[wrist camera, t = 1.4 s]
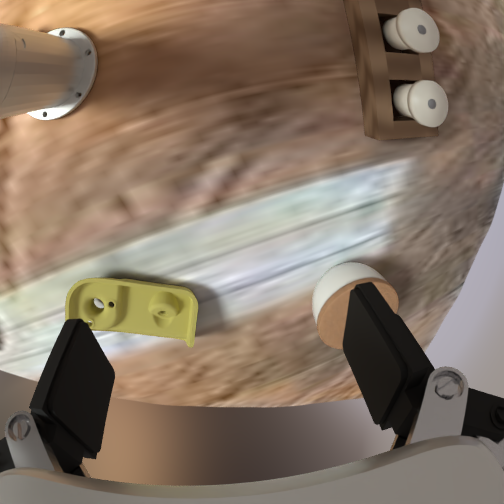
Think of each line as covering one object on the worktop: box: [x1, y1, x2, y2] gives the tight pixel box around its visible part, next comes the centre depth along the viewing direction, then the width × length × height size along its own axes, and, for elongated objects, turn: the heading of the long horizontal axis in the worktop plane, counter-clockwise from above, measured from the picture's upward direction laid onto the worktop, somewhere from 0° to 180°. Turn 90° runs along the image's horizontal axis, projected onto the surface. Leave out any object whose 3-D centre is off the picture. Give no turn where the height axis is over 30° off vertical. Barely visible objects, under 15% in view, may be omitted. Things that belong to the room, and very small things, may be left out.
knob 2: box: [393, 80, 448, 127], centre depth 28 cm, size 6×6×5 cm
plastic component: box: [65, 278, 198, 348], centre depth 43 cm, size 20×7×10 cm
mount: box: [343, 0, 438, 140], centre depth 27 cm, size 28×10×4 cm, turn 10°
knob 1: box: [383, 8, 439, 53], centre depth 23 cm, size 6×6×5 cm
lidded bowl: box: [312, 262, 399, 349], centre depth 42 cm, size 13×13×11 cm
